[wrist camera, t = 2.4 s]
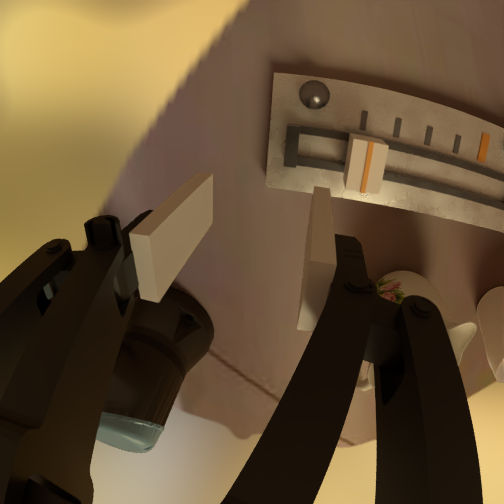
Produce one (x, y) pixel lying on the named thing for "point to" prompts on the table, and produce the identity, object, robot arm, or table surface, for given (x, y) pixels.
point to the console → (399, 151)
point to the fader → (365, 164)
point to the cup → (493, 329)
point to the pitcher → (412, 283)
